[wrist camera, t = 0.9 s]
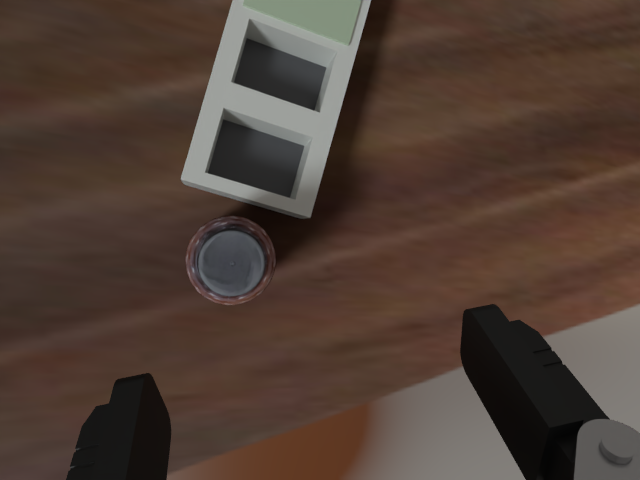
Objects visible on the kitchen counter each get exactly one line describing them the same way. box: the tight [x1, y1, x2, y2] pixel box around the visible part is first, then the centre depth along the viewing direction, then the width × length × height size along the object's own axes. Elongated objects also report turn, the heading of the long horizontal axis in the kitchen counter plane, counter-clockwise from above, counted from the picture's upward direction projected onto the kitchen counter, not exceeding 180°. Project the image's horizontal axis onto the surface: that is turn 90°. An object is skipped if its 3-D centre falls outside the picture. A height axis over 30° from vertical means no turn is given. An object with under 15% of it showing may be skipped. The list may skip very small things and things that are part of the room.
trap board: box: [181, 0, 371, 219], centre depth 38 cm, size 10×22×4 cm, turn 164°
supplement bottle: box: [185, 216, 276, 305], centre depth 34 cm, size 6×6×11 cm
